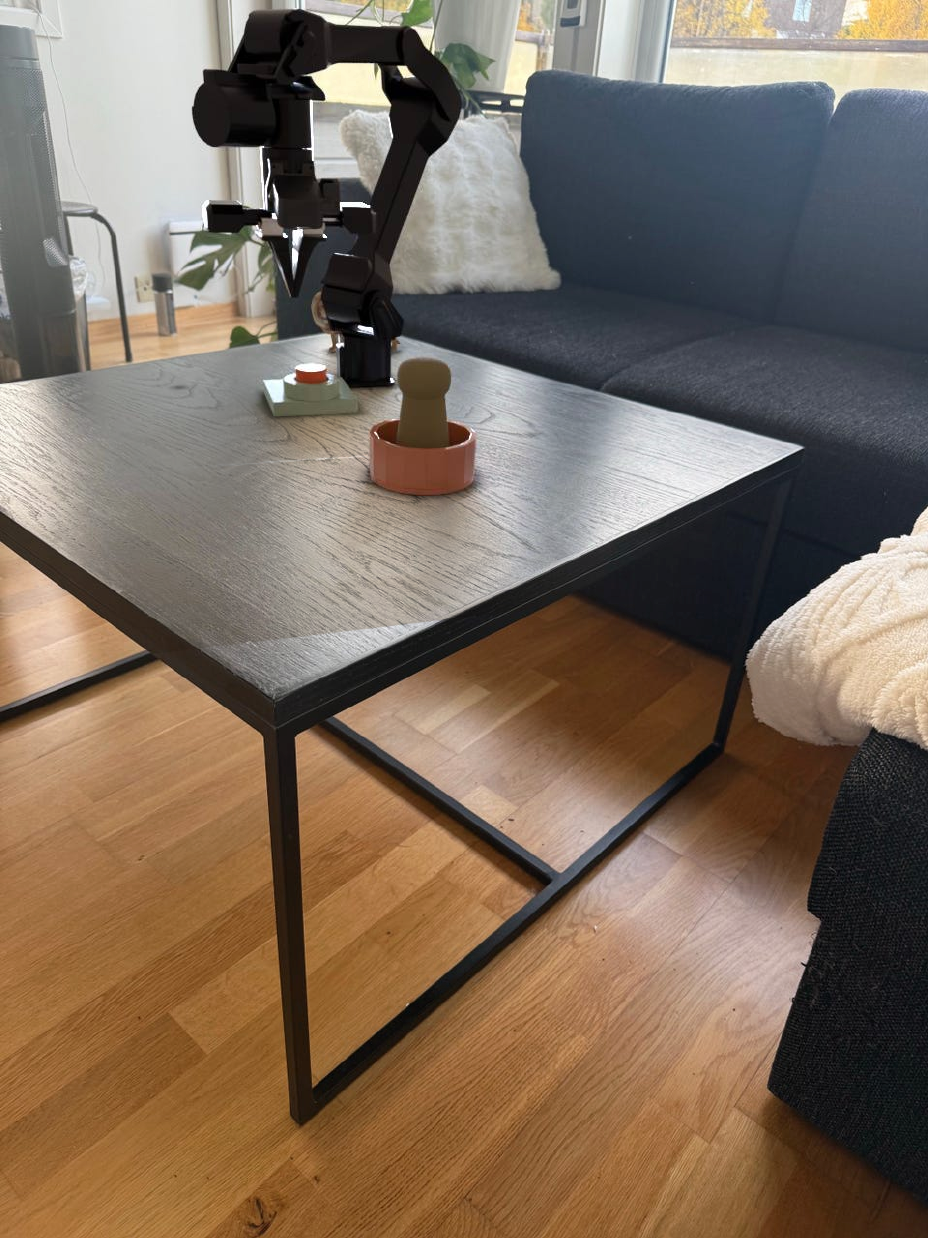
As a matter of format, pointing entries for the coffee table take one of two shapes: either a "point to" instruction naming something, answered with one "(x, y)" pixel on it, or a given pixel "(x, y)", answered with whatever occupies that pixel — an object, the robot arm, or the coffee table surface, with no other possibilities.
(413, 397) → the cork
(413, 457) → the bowl
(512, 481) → the coffee table surface
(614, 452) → the coffee table surface
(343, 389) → the button box
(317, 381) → the button
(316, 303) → the lion figurine
